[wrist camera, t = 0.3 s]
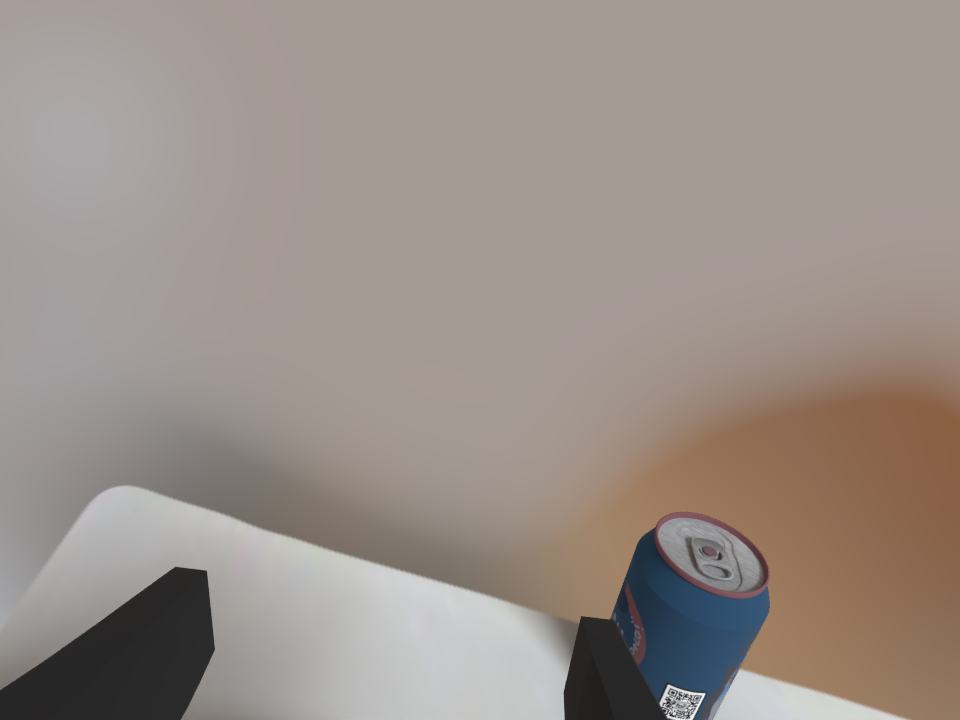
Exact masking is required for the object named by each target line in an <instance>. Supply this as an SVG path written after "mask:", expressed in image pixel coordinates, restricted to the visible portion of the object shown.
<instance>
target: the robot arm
mask: <svg viewBox="0 0 960 720" xmlns="http://www.w3.org/2000/svg"><path fill="white" fill-rule="evenodd" d="M214 650H215V646H214V636H213V627H212V617H211V607H210V597H209V588H208V578H207V571H205V570H196V569H188V568H180V567H175V568H173V569H172V570H170V571H169V572H168V573H166V574H165V575H163V576H162V577H161V578H159V579H158V580H156V581H155V582H154V583H152V584H151V585H150V586H148V587H147V588H145V589H144V590H143V591H141V592H140V593H139V594H137V595H136V596H134V597H133V598H132V599H130V600H129V601H128V602H126V603H125V604H123V605H122V606H121V607H119V608H118V609H117V610H115V611H114V612H112V613H111V614H110V615H108V616H107V617H106V618H104V619H103V620H101V621H100V622H99V623H97V624H96V625H95V626H93V627H92V628H90V629H89V630H88V631H86V632H85V633H83V634H82V635H81V636H79V637H78V638H76V639H75V640H73V641H72V642H71V643H69V644H68V645H66V646H65V647H64V648H62V649H61V650H59V651H58V652H57V653H55V654H54V655H52V656H51V657H49V658H48V659H47V660H45V661H44V662H42V663H41V664H39V665H38V666H36V667H35V668H33V669H32V670H30V671H29V672H27V673H26V674H24V675H23V676H21V677H20V678H18V679H17V680H15V681H14V682H12V683H11V684H9V685H8V686H6V687H5V688H3V689H2V690H0V720H181V718H182V716H183V714H184V713H185V711H186V709H187V708H188V706H189V704H190V701H191V699H192V697H193V695H194V693H195V691H196V689H197V687H198V685H199V683H200V681H201V679H202V676H203V674H204V672H205V670H206V668H207V666H208V663H209V661H210V659H211V657H212V655H213V652H214ZM564 711H565V720H669V719H668V718H667V716H666V714H665V713H664V711H663V709H662V707H661V706H660V704H659V702H658V700H657V699H656V697H655V695H654V693H653V692H652V690H651V688H650V686H649V684H648V683H647V681H646V679H645V677H644V675H643V673H642V672H641V670H640V668H639V666H638V664H637V662H636V660H635V659H634V657H633V655H632V653H631V651H630V649H629V647H628V645H627V643H626V641H625V639H624V637H623V635H622V633H621V631H620V629H619V627H618V625H617V624H616V623H615V622H614V620H608V619H599V618H591V617H583V616H582V617H581V620H580V624H579V628H578V633H577V637H576V641H575V646H574V650H573V654H572V659H571V663H570V667H569V672H568V676H567V680H566V685H565V689H564Z"/></svg>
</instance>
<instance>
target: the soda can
mask: <svg viewBox="0 0 960 720" xmlns="http://www.w3.org/2000/svg"><path fill="white" fill-rule="evenodd" d="M769 576H770V572H769V567H768V564H767V562H766V560H765V558H764V556H763V555H762V553H761V552H760V551H759V549H758V548H757V547H756V546H755V545H754V544H753V543H752V542H751V541H750V540H749V539H748V538H747V537H745V536H744V535H743V534H741V533H740V532H739V531H737V530H736V529H734V528H732V527H731V526H729V525H727V524H725V523H723V522H721V521H719V520H717V519H714V518H711V517H709V516H705V515H702V514H697V513H691V512H676V513H671V514H669V515H666V516H664V517H663V518H662V519H660V521H659V522H658V523H657V525H656V527H655V528H654V529H652V530H651V531H649V532H648V533H646V534H645V535H644V536H643V537H642V538H641V539H640V540H639V542H638V544H637V547H636V550H635V552H634V555H633V558H632V561H631V563H630V566H629V569H628V571H627V574H626V577H625V580H624V583H623V585H622V588H621V591H620V594H619V596H618V599H617V602H616V605H615V607H614V610H613V613H612V616H611V618H610V620H614V622H615V623H616V624H617V625H618V627H619V629H620V631H621V633H622V635H623V637H624V639H625V641H626V643H627V645H628V647H629V649H630V651H631V653H632V655H633V657H634V659H635V660H636V662H637V664H638V666H639V668H640V670H641V672H642V673H643V675H644V677H645V679H646V681H647V683H648V684H649V686H650V688H651V690H652V692H653V693H654V695H655V697H656V699H657V700H658V702H659V704H660V706H661V707H662V709H663V711H664V713H665V714H666V716H667V718H668V719H669V720H713V718H714V716H715V714H716V712H717V711H718V709H719V707H720V705H721V703H722V701H723V699H724V697H725V695H726V693H727V692H728V690H729V688H730V686H731V684H732V682H733V680H734V678H735V676H736V674H737V673H738V671H739V669H740V667H741V665H742V663H743V661H744V659H745V657H746V655H747V653H748V652H749V650H750V648H751V646H752V644H753V642H754V640H755V638H756V636H757V634H758V633H759V631H760V629H761V627H762V625H763V623H764V621H765V619H766V617H767V615H768V613H769V608H770V601H769V593H768V587H767V584H768V582H769V578H770V577H769Z"/></svg>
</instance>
